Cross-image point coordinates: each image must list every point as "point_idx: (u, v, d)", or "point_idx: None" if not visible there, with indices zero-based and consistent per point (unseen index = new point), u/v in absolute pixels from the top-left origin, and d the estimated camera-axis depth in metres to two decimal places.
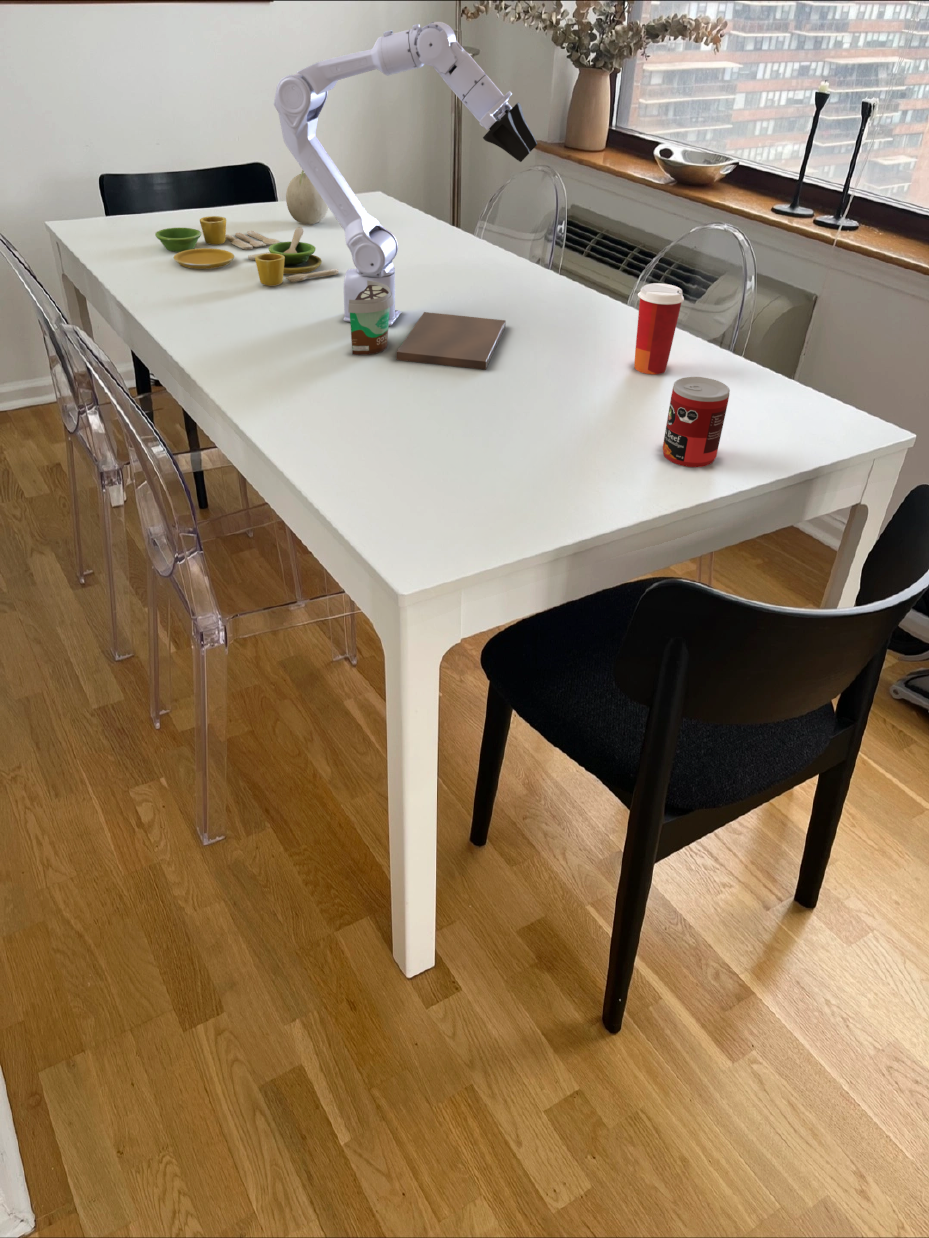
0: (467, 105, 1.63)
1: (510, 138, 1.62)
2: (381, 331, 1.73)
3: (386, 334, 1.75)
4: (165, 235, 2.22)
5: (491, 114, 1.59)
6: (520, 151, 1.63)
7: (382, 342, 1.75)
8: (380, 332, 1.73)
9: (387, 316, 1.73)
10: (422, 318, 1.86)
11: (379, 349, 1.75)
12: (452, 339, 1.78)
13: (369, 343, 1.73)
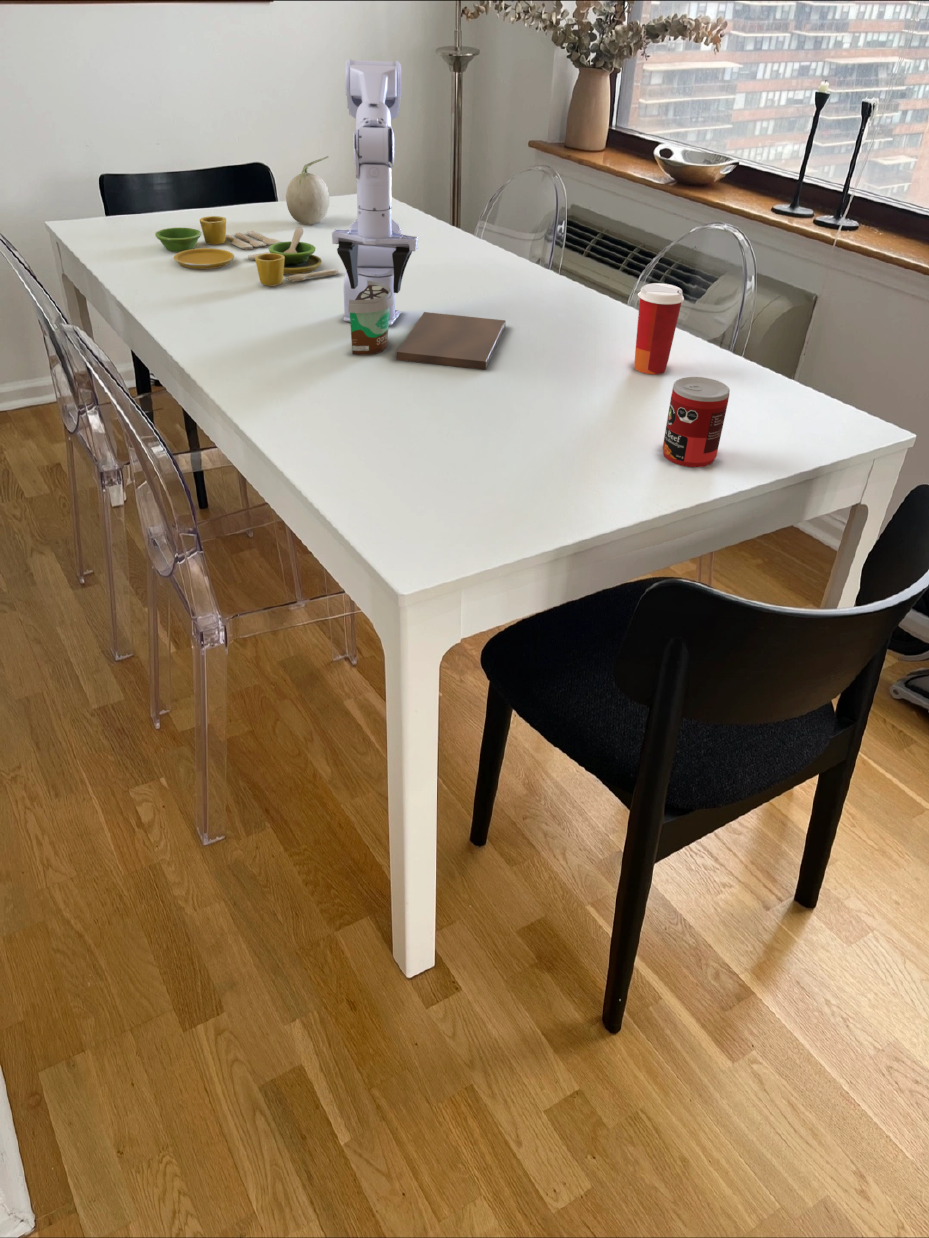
0: None
1: None
2: (381, 331, 1.73)
3: (386, 334, 1.75)
4: (165, 235, 2.22)
5: (336, 236, 1.66)
6: None
7: (382, 342, 1.75)
8: (380, 332, 1.73)
9: (387, 316, 1.73)
10: (422, 318, 1.86)
11: (379, 349, 1.75)
12: (452, 339, 1.78)
13: (369, 343, 1.73)
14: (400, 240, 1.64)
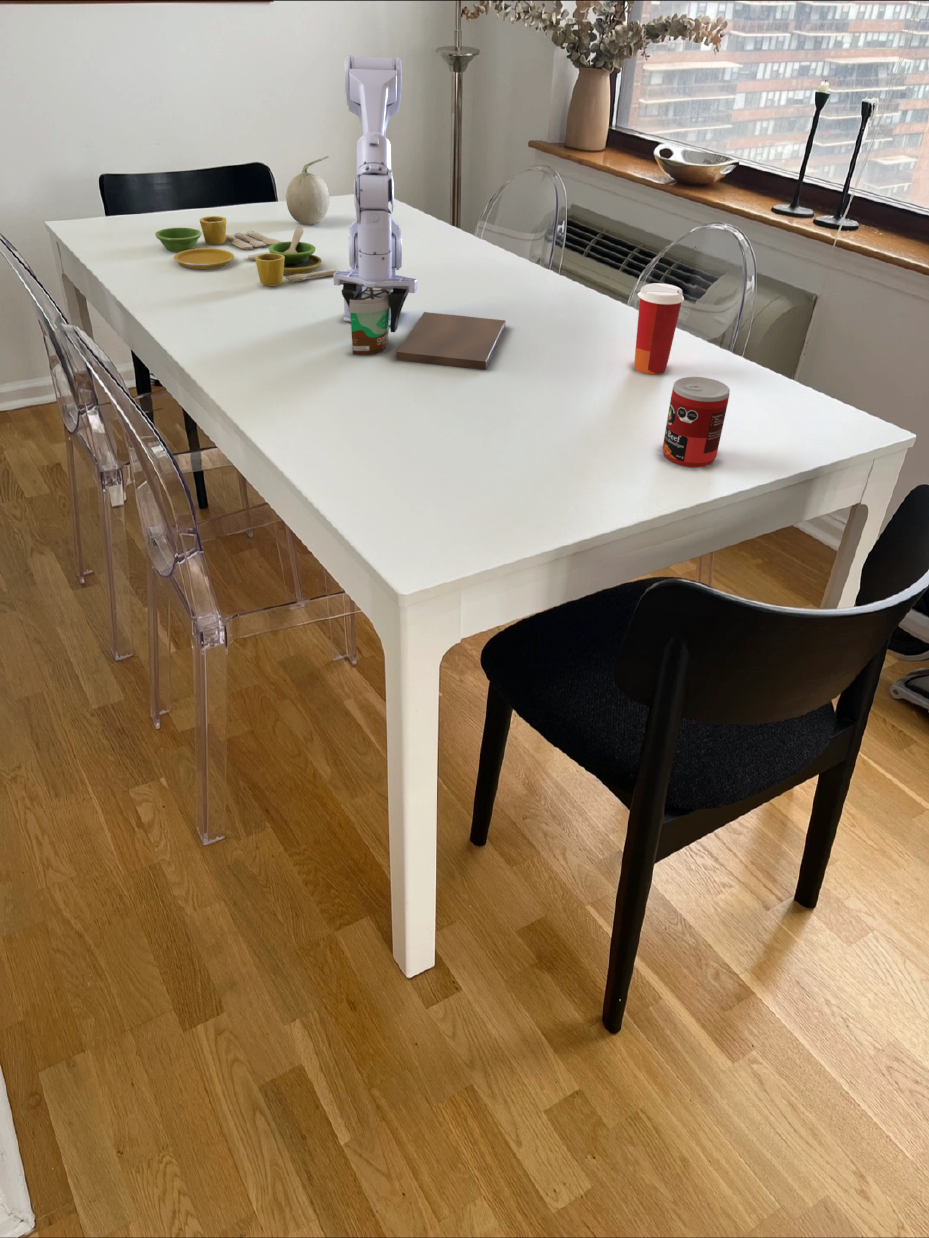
0: None
1: None
2: (381, 331, 1.73)
3: (386, 334, 1.75)
4: (165, 235, 2.22)
5: (337, 278, 1.70)
6: None
7: (382, 342, 1.75)
8: (380, 332, 1.73)
9: (387, 316, 1.73)
10: (422, 318, 1.86)
11: (379, 349, 1.75)
12: (452, 339, 1.78)
13: (370, 343, 1.73)
14: (400, 282, 1.68)
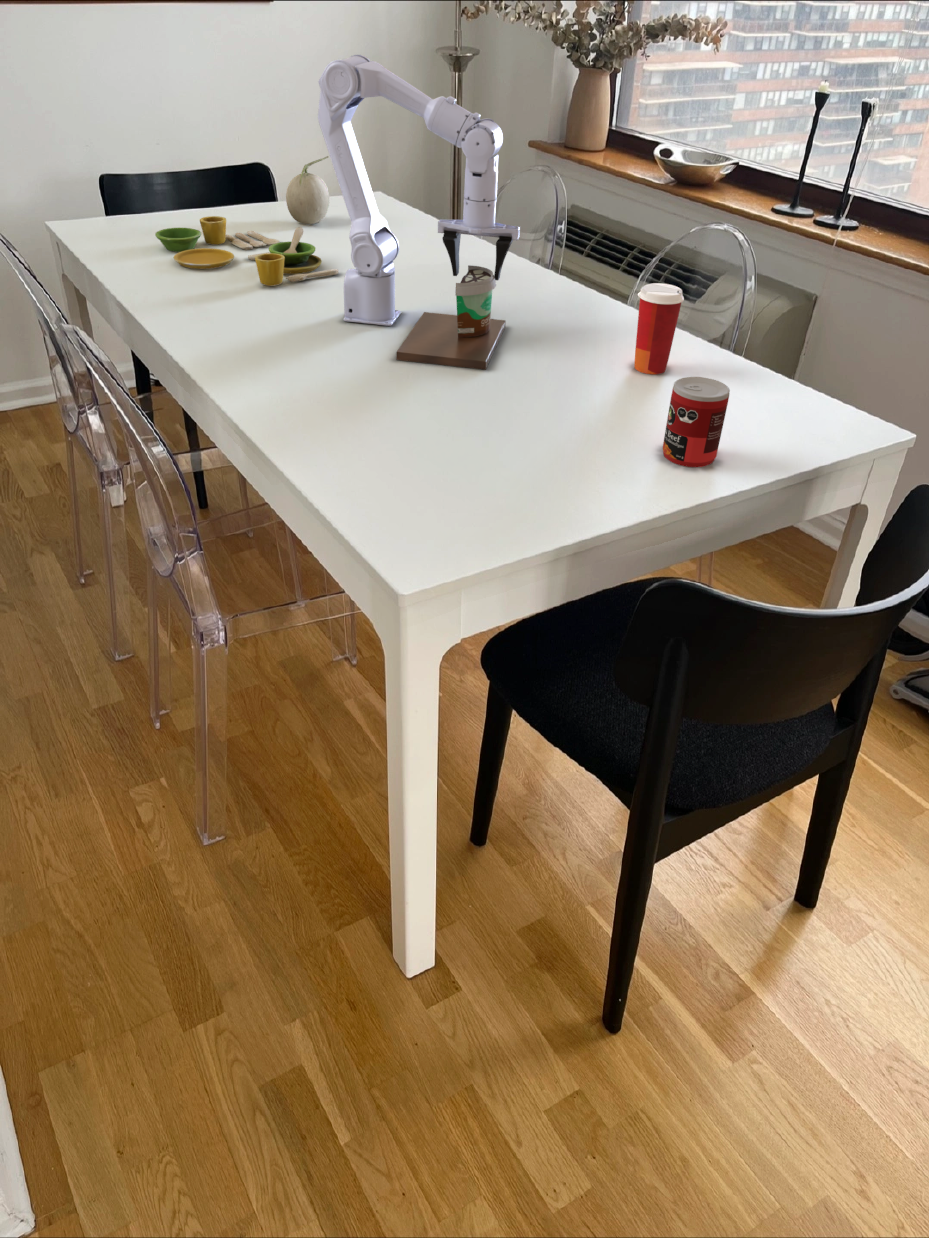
0: None
1: None
2: (485, 313, 1.78)
3: (489, 316, 1.80)
4: (165, 235, 2.22)
5: (441, 226, 1.74)
6: None
7: (486, 324, 1.79)
8: (484, 314, 1.78)
9: (490, 298, 1.78)
10: (422, 318, 1.86)
11: (483, 331, 1.79)
12: (452, 339, 1.78)
13: (475, 325, 1.77)
14: (504, 229, 1.72)
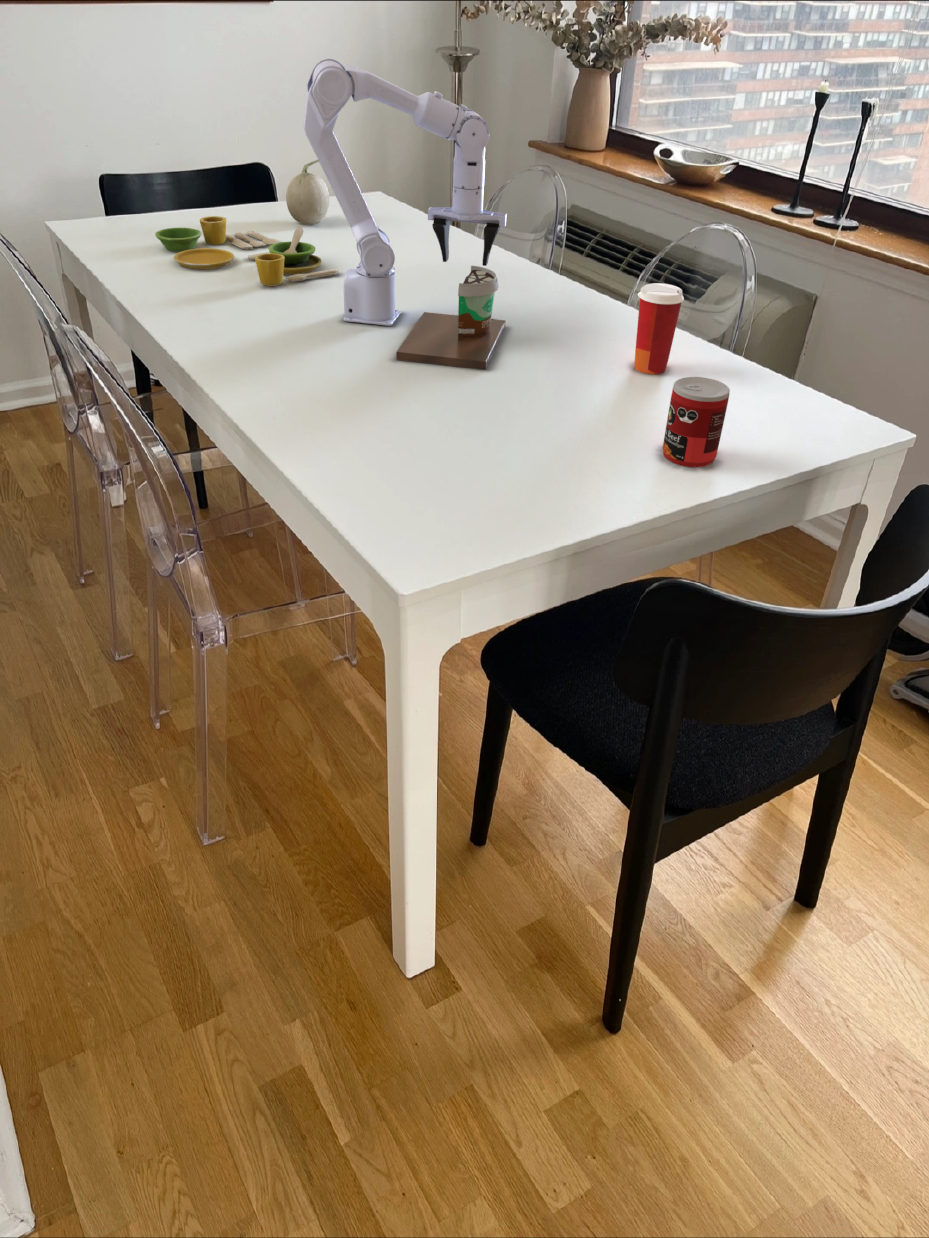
0: None
1: None
2: (486, 314, 1.78)
3: (490, 318, 1.80)
4: (165, 235, 2.22)
5: (431, 213, 1.81)
6: None
7: (486, 325, 1.79)
8: (485, 315, 1.78)
9: (492, 300, 1.78)
10: (422, 318, 1.86)
11: (483, 332, 1.80)
12: (452, 339, 1.78)
13: (475, 326, 1.78)
14: (491, 216, 1.79)
